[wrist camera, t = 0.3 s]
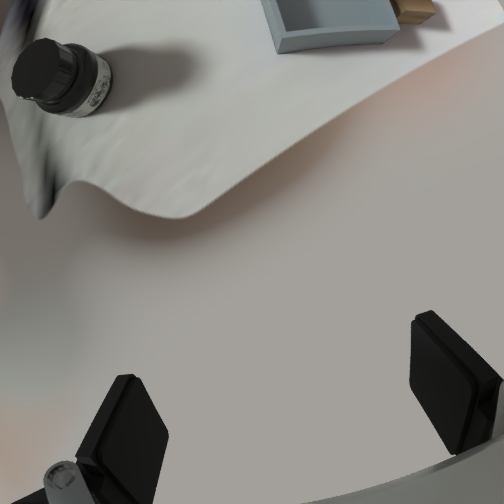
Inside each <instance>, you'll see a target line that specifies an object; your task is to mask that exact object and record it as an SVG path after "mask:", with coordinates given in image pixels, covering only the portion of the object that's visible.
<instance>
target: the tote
mask: <svg viewBox="0 0 504 504" xmlns="http://www.w3.org/2000/svg"><path fill="white" fill-rule="evenodd" d="M261 3H262V6H263V9H264V12H265V15H266V18H267V22H268V25H269V28H270V31H271V35H272V38H273V41H274V45H275V48H276V52H277V54H281V53H287V52H294V51H301V50H308V49H316V48H325V47H335V46H347V45H361V44H383V43H385V42H386V41H387V40H388V39H390V38H391V37H392V36H393V35H395V34H396V33H397V32H399V31H400V27H399V24H398V21H397V19H396V16H395V14H394V11H393V8H392V6H391V4H390V1H389V0H261Z"/></svg>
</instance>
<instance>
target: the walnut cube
mask: <svg viewBox="0 0 504 504" xmlns="http://www.w3.org/2000/svg"><path fill="white" fill-rule="evenodd" d="M389 1H390V4H391V6H392V8H393V11H394V14H395V16H396V19H397V21H398V23H405V24H421V23H423V22H424V21H425V20H427V19H428V18H430V17H431V16H433V15H434V14H436V10H435V8H434V5H433V3H432V1H431V0H389Z"/></svg>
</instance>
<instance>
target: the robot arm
mask: <svg viewBox="0 0 504 504" xmlns="http://www.w3.org/2000/svg"><path fill="white" fill-rule="evenodd" d="M409 381H410V382H409V383H410V387H411V390H412V391H413V393H414V395H415V396H416V398H417V400H418V401H419V403H420V404H421V406H422V408H423V409H424V411H425V413H426V414H427V416H428V417H429V419H430V421H431V423H432V424H433V425H434V428H435V429H436V431H437V433H438V434H439V436H440V438H441V439H442V441H443V442H444V445H445V446H446V448H447V450H448V451H449V453H450V454H451V455H454V454H455V455H456V456H454V457H452V458H450V459H447V460H445V461H443V462H440V463H438V464H436V465H433V466H431V467H428V468H425V469H423V470H420V471H418V472H415V473H412V474H410V475H407V476H404V477H401V478H399V479H396V480H393V481H390V482H387V483H384V484H380V485H377V486H374V487H370V488H367V489H364V490H360V491H357V492H353V493H349V494H345V495H341V496H336V497H332V498H328V499H323V500H318V501H314V502H309V503H303V504H504V380H503V379H502V378H501V377H500V376H499V374H498V373H497V372H496V371H495V370H494V369H493V368H492V367H491V366H490V365H489V364H488V363H487V362H486V361H485V360H484V359H483V358H482V357H481V356H480V355H479V354H478V353H477V352H476V351H475V350H474V349H473V348H472V347H471V346H470V345H469V344H468V343H467V342H466V341H464V340H463V339H462V338H461V337H460V336H459V335H458V334H457V333H456V332H455V331H454V330H453V329H452V328H451V327H450V326H449V325H447V323H445V322H444V321H443V320H442V319H441V318H440V317H439V316H438V315H437V314H436V313H435V312H434V311H432V310H430V311H427V312H424V313H421V314H418V315H416V317H415V320H413V321H412V322H411V357H410V378H409ZM168 438H169V434H168V430H167V428H166V426H165V424H164V423H163V421H162V419H161V417H160V415H159V414H158V412H157V410H156V408H155V406H154V404H153V402H152V400H151V399H150V396H149V395H148V393H147V391H146V389H145V387H144V385H143V383H142V381H141V379H140V378H138V377H136V376H135V375H134V374H126V375H118V376H117V377H116V379H115V381H114V382H113V384H112V386H111V388H110V390H109V392H108V393H107V395H106V397H105V399H104V401H103V403H102V405H101V406H100V408H99V410H98V412H97V414H96V416H95V418H94V420H93V422H92V424H91V426H90V427H89V430H88V431H87V433H86V435H85V437H84V439H83V441H82V443H81V445H80V447H79V449H78V451H77V453H76V455H75V457H76V458H77V462H76V464H75V463H73V462H71V461H61V462H58V463H56V464H54V465H53V466H51V467H50V468H49V469H48V470H47V471H46V473H45V475H44V479H43V483H44V488H42V489H40V490H38V491H36V492H34V493H32V494H30V495H28V496H26V497H24V498H22V499H20V500H18V501H15V502H13V503H12V504H152V503H153V499H154V495H155V491H156V487H157V483H158V478H159V475H160V470H161V466H162V462H163V458H164V454H165V450H166V447H167V442H168Z"/></svg>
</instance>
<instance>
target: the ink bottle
mask: <svg viewBox="0 0 504 504" xmlns="http://www.w3.org/2000/svg"><path fill="white" fill-rule="evenodd" d="M11 80H12V89H13V90H14V92H15V93H16V95H17V96H19V97H21V98H23V99H26V100H31V101H35V102H36V103H37V105H38V106H39V107H40V108H41V109H42V110H44V111H46V112H48V113H52V114H58V115H60V116H66V117H71V118H81V117H85V116H88V115H90V114H92V113H93V112H95V111H96V110H97V109H98V108H99V107H100V106H101V105H102V104H103V103H104V101H105V100H106V98H107V96H108V94H109V92H110V90H111V87H112V82H113V74H112V70H111V67H110V66H109V64H108V63H107V62H106V61H105V60H104V59H103V58H102V57H100V56H98V55H97V54H95V53H94V52H92V51H90V50H89V49H87V48H86V47H84V46H82V45H79V44H74V43H69V44H64V45H62V44H60V43H58V42H56V41H54V40H51V39H48V38H44V39H39V40H35V41H34V42H33V43H31V44H30V45H28V46H27V47H26V48H25V49H24V51H23V52H22V53H21V54H20V55H19V57H18V59H17V61H16V63H15V65H14V67H13V73H12V77H11Z"/></svg>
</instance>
